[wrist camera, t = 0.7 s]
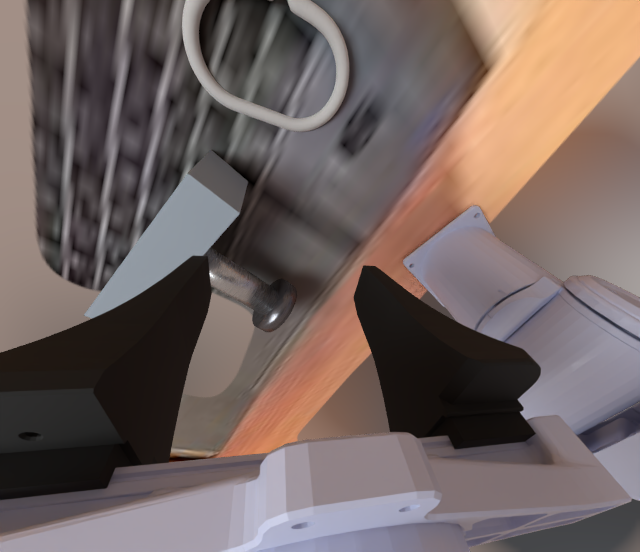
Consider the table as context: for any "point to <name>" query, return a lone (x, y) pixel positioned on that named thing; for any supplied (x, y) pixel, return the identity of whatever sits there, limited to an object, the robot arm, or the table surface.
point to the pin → (252, 291)
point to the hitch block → (178, 230)
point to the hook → (190, 25)
